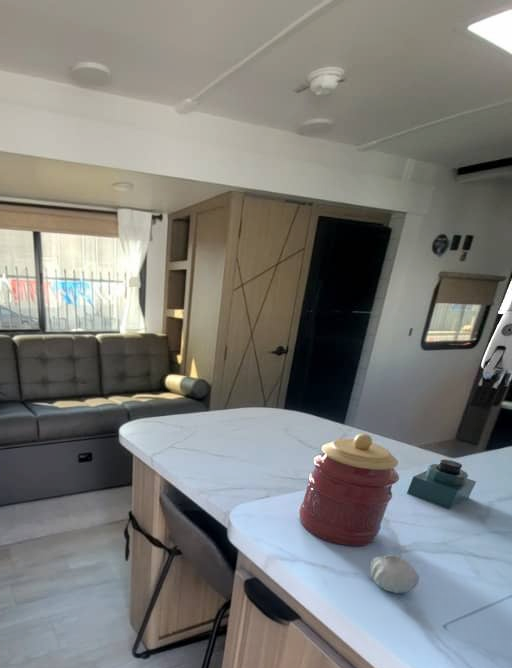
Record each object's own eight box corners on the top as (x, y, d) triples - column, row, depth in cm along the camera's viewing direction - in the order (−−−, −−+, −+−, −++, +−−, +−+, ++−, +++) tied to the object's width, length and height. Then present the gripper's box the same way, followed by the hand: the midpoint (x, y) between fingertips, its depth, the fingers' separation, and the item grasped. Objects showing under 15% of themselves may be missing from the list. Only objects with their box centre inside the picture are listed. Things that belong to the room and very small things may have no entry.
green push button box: (427, 483, 92) (437, 459, 90) (468, 498, 86) (480, 472, 84) (406, 493, 87) (416, 467, 84) (449, 509, 81) (461, 482, 78)
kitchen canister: (393, 540, 70) (432, 445, 62) (335, 553, 65) (369, 452, 58) (335, 505, 81) (361, 419, 73) (282, 514, 76) (304, 424, 69)
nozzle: (441, 467, 86) (445, 458, 86) (461, 473, 84) (465, 464, 83) (434, 470, 85) (437, 461, 84) (454, 477, 82) (458, 467, 81)
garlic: (360, 585, 59) (371, 556, 56) (369, 568, 62) (380, 540, 60) (407, 606, 55) (421, 576, 53) (415, 587, 59) (428, 558, 56)
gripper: (541, 307, 66) (492, 416, 74) (568, 308, 75) (521, 405, 82) (485, 304, 71) (445, 406, 79) (517, 305, 80) (477, 397, 88)
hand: (484, 404), depth 81 cm, fingers open, 4 cm apart
